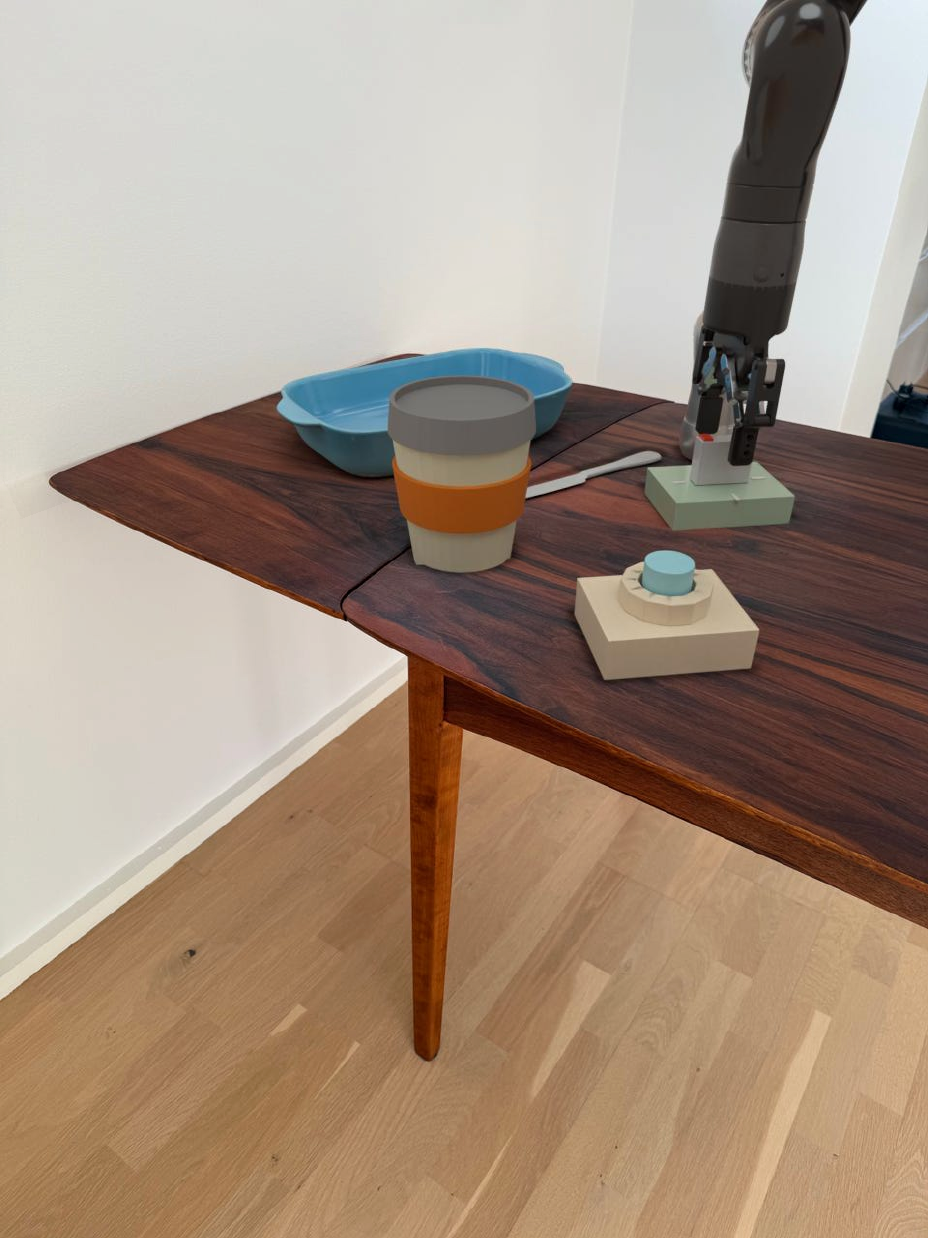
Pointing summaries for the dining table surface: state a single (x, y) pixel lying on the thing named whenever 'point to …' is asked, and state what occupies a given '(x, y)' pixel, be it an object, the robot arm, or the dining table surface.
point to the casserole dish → (359, 397)
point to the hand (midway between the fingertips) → (721, 448)
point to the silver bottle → (689, 421)
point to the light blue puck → (668, 573)
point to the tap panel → (717, 499)
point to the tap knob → (715, 462)
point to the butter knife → (594, 473)
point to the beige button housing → (663, 626)
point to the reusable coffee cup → (461, 467)
